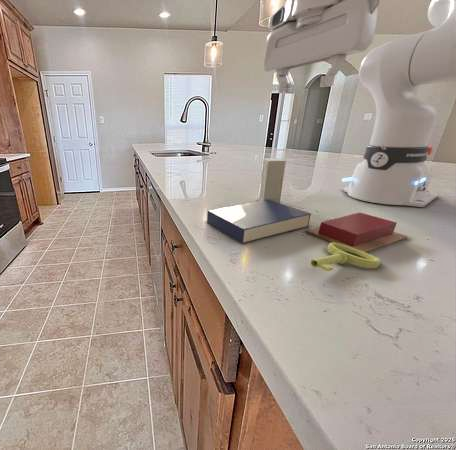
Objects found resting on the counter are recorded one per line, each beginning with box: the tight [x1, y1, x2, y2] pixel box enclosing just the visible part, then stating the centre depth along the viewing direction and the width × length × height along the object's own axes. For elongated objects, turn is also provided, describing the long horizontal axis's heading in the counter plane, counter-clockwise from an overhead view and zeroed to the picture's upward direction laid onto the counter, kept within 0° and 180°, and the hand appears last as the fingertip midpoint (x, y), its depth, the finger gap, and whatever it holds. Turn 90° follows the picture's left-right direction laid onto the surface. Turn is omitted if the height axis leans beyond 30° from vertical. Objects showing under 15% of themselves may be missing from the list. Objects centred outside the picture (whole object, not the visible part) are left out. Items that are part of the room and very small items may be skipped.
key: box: [310, 242, 381, 272], centre depth 38 cm, size 7×12×2 cm, turn 132°
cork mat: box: [306, 227, 408, 253], centre depth 48 cm, size 14×10×1 cm
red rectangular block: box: [318, 212, 398, 246], centre depth 48 cm, size 12×6×2 cm, turn 112°
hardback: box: [206, 199, 312, 244], centre depth 54 cm, size 18×12×3 cm
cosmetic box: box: [258, 157, 287, 204], centre depth 66 cm, size 6×4×12 cm
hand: (303, 90), depth 50 cm, fingers open, 8 cm apart
